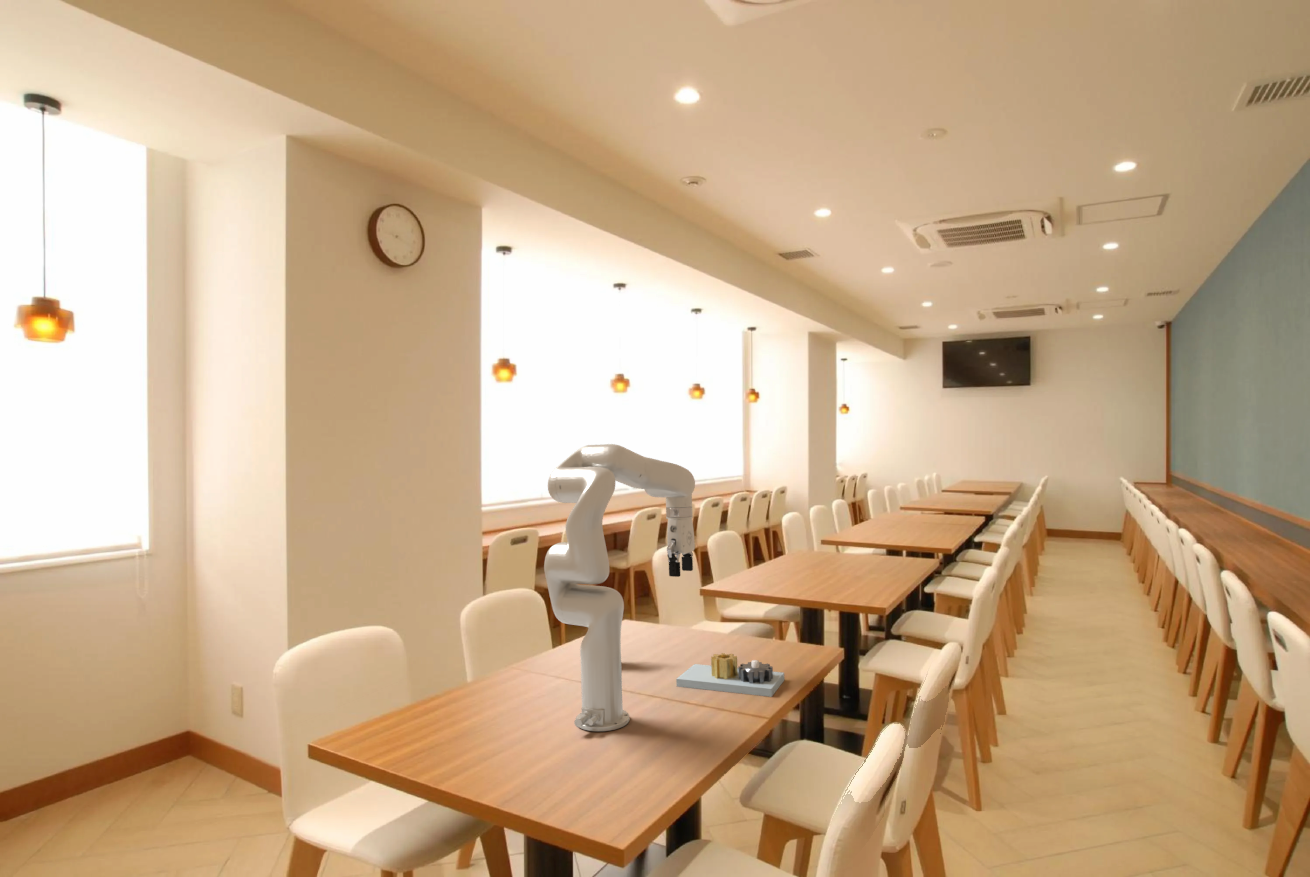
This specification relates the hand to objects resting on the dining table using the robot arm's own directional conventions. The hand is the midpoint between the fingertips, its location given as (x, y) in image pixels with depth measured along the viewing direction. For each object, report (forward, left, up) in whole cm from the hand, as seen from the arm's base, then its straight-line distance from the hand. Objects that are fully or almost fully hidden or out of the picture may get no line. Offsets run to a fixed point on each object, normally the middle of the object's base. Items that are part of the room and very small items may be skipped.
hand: (681, 573), depth 201 cm
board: (-4, -15, -28) cm, 32 cm away
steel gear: (-4, -22, -26) cm, 35 cm away
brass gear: (-4, -13, -26) cm, 30 cm away
